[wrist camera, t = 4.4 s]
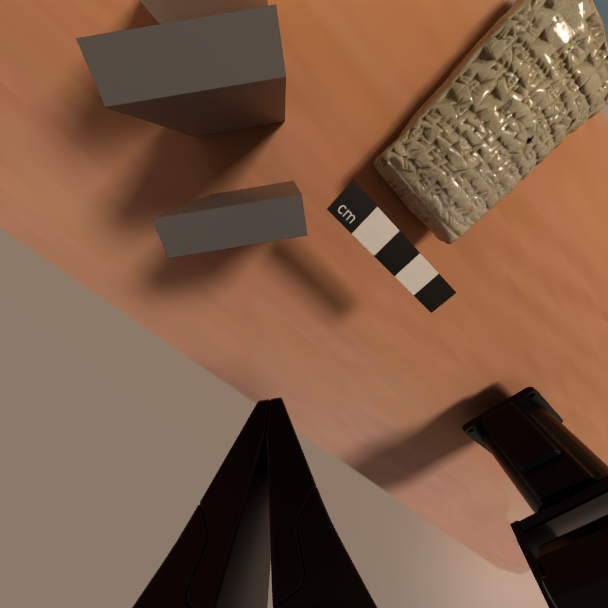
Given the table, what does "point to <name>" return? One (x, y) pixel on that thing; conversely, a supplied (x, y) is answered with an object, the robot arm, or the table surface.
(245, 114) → the domino
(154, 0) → the end domino
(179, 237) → the domino
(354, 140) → the table surface
